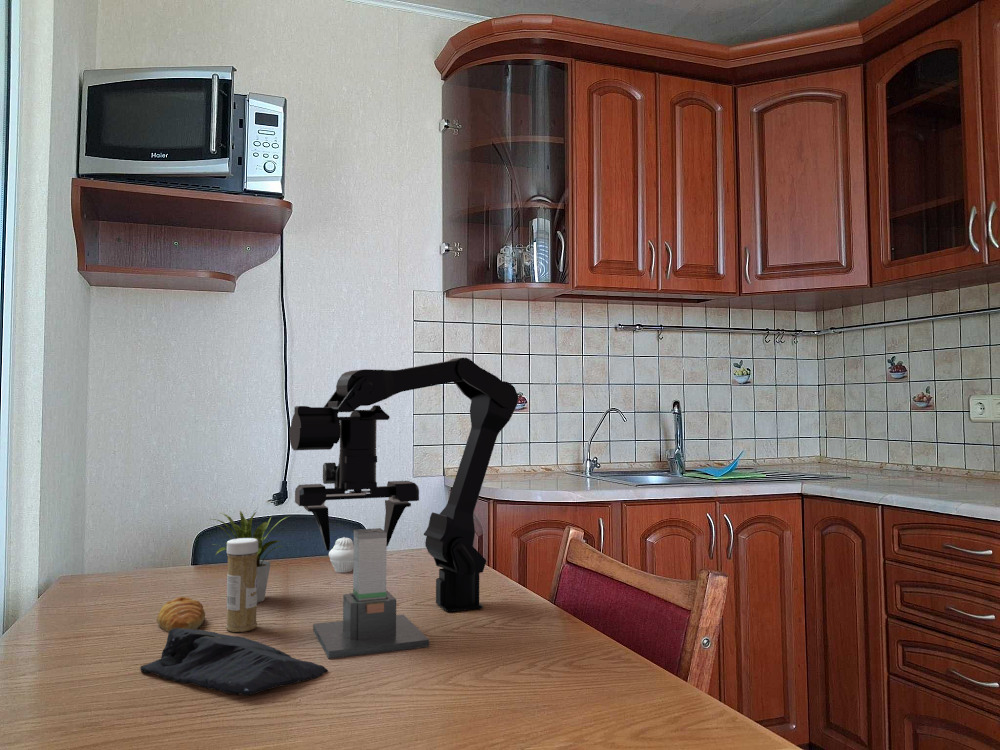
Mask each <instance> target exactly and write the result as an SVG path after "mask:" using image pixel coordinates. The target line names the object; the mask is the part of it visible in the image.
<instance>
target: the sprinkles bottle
mask: <svg viewBox="0 0 1000 750" xmlns="http://www.w3.org/2000/svg"><path fill="white" fill-rule="evenodd" d="M226 543H227V545H226V547H227V549H226V550H227V551H226V554H227V573H226V609H227V611H226V614H227V615H226V616H227V617H226V626H225V629H226V630H227V631H228V632H231V633H232V632H233V633H244V632H249V631H252V630H255V629H256V628H257V626H258V622H257V605H258V602H257V552H258V540H257V539H254V538H253V537H252V538H238V539H236V538H232V540H231V539H229V540H228V541H227V542H226Z"/></svg>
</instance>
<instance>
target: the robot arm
mask: <svg viewBox="0 0 1000 750" xmlns="http://www.w3.org/2000/svg"><path fill="white" fill-rule="evenodd" d="M451 383H453V384H455V386H456V387H457V388H458V389H459V391H460V392H461V393H462V395H463V396H465V397H466V398H468V399H469V400H470V407H469V415H470V425H471V428H470V431H469V434H468V437H467V441H466V445H465V447H464V451H463V453H462V457H461V459H460V462H459V466H458V468H457V472H456V476H455V478H454V481H453V484H452V488H451V491H450V494H449V497H448V500H447V502H446V503H447V504H446V505H445V506H444V508H443V509H442V510H441V512H440V513H437V512H431V514H430V515H429V522H428V525H427V528H426V530H425V531H424V533H423V536H425V537H426V538H425V542H424V543H425V544H424V545H425V548H426V550H427V552H428V554H429V555H430V556H431V557H432V558H433V560H434V563H435V566H436V567H437V568H438V567H439V569H438V577H437V578H436V579H435V604H437V606H439V607H440V608H441V609H442V610H444V611H445V612H448V613H450V612H459V611H468V610H477V609H483V608H484V605H483V604H482V603H481V602H480V573H482V574H483V572H484V570H485V566H486V563H487V560H486V559H487V558H485V557H484V556H483V555H482V554H481V553H480V552H479V551H478V550H477V549H476V548H475V547H474V544H475V543H474V542H475V536H476V527H475V517H474V514H475V509H476V506H477V503H478V500H479V496H480V493H481V490H482V486H483V484H484V480H485V477H486V474H487V471H488V467H489V464H490V461H491V458H492V454H493V451H494V448H495V444H496V441H497V438H498V436H499V434H500V432H502V430H503V429H504V427H506V426H507V424H508V422H510V420H511V419H512V416H513V414H514V412H515V410H516V408H517V407H518V404H519V394H518V392H517V390H516V387H515V386H513V384H511V382H508V381H505V380H504V381H503V380H501V379H500V378H499V377H498V376H497V375H494V374H493V373H491V372H489V371H487V370H486V369H484V368H481V367H480V366H479V365H478V364H476V363H475V362H474V361H473V360H471V359H470V358H468V357H457V358H451V359H449V360H446V361H441V362H435V363H429V364H423V365H417V366H412V367H407V368H401V369H396V370H395V369H366V368H365V369H364V368H363V369H359V370H357V369H355V370H349V371H345V372H344V373H342V374H341V375H340V377H338V379H337V382H336V385H335V391H334V392H333V393H332V395H331V396H330V397H329V399H328V401H327V402H326V403H325V404H324V406H322V407H321V406H320V407H316V406H315V407H313V406H312V407H311V406H308V405H295V406H294V412H293V413H294V414H293V415H292V419H291V423H290V426H289V434H288V435H289V443H290V446H291V448H292V450H293V451H318V450H321V451H322V450H323V451H324V450H328V451H330V450H332V449H333V447H334V445H335V444H338V443H339V457H338V464H336V463H335V462H323V464H322V483H323V484H324V485H323V484H321V483H312V484H311V483H310V484H309V483H308V484H298V485H297V487H295V490H294V503H295V504H296V505H297V506H299V507H303V509H304V510H306V511H307V512H309V513H310V512H312V514H313V516H314V519H315V520H316V521H315V522H316V523H317V526H318V528H319V532H320V534H321V538H322V542H323V544H324V548H325V550H326V551H327V552H328V551H329V552H330V548H331V534H330V533H331V531H330V518H329V517H330V516H329V507H328V506H326V505H325V503H326V501H335V500H336V501H337V500H340V501H341V500H357V499H360V500H361V499H362V500H363V499H380V498H381V499H382V498H384V499H385V498H388V499H385V500H384V505H385V506H384V508H385V515H384V516H385V517H384V526H383V530H384V531H385V532H387V547H388V546H389V544H390V541H391V539H392V537H393V534H394V531H395V529H396V527H397V524H398V522H399V520H400V518H401V517H402V515H403V513H404V511H405V509H406V508H409V507H411V506H412V503H411V502H418V501H420V488H419V486H418V485H417V483H415V482H413V481H410V480H393V481H391V480H390V481H388V480H387V483H386V485H383V486H381V485H380V486H379V485H378V482H377V463H378V456H377V423H378V422H377V421H388V420H390V415H389V414H387V412H385V411H384V410H383V408H382V406H381V405H378V404H377V403H380V402H382V401H384V400H387V399H389V398H391V397H393V396H395V395H398V394H400V393H403V392H407V391H413V390H417V389H418V390H419V389H423V388H427V387H433V386H439V385H440V386H441V385H444V384H451ZM374 404H377V405H374ZM371 405H372V407H371V408H370V409H358V408H360V407H368V406H371ZM339 413H350V415H349V416H339ZM328 484H329V485H330V484H333V485H334V488H333V487H331V488H326V486H325V485H328Z"/></svg>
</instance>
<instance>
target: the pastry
mask: <svg viewBox="0 0 1000 750" xmlns="http://www.w3.org/2000/svg"><path fill="white" fill-rule="evenodd" d="M205 618H206V612H205V609H204V605H203V604H202V603H201V602H200V601H199V600H195V599H193V598H190V597H186V596H177V597H175V598H173V599H172V600H167V601H166V603H164V604H163V605H162V606H161V609H160V610H159V612H158V614H157V617H156V622H157V624H158V627H159V628H161V629H162V630H163V631H166V632H167V633H169V630H171V629H175V628H182V629H192V630H199V628H200V627H201V626H202V625H203V624H204V620H205Z"/></svg>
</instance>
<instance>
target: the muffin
mask: <svg viewBox="0 0 1000 750" xmlns="http://www.w3.org/2000/svg"><path fill="white" fill-rule="evenodd" d="M334 542H335V543H334V546H333V548H331V550H329V552H328V558H329V561H330V563H331V565H332V566H333V569H334V571H335V572H336V573H340V574H341V573H343V574H344V573H345V574H346V573H351V572H352V571H353V559H354V540H352V539H351V538H349V537H345V536H343V537H341V538H340V537H339V538H337V540H335V541H334Z"/></svg>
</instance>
